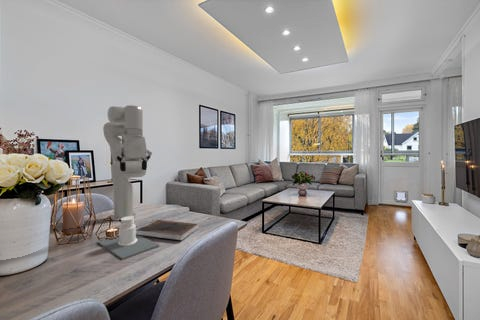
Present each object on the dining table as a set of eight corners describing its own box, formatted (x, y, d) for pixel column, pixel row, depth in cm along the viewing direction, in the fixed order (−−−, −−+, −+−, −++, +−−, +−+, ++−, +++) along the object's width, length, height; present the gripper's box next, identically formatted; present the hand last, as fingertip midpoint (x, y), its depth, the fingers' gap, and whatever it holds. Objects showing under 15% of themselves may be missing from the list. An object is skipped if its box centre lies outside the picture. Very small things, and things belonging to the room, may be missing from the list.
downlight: (119, 239, 92) (119, 215, 91) (138, 237, 94) (138, 214, 93) (116, 248, 84) (115, 222, 83) (136, 245, 87) (136, 220, 86)
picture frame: (136, 235, 96) (181, 241, 91) (136, 229, 96) (181, 235, 91) (158, 224, 112) (198, 228, 107) (158, 219, 112) (198, 223, 107)
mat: (97, 242, 89) (97, 241, 89) (132, 233, 100) (132, 231, 100) (122, 259, 76) (122, 258, 76) (159, 246, 87) (159, 244, 87)
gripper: (117, 131, 92) (117, 172, 93) (155, 134, 106) (155, 169, 107) (109, 132, 97) (110, 171, 98) (147, 134, 111) (147, 168, 111)
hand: (134, 170), depth 102 cm, fingers open, 9 cm apart
